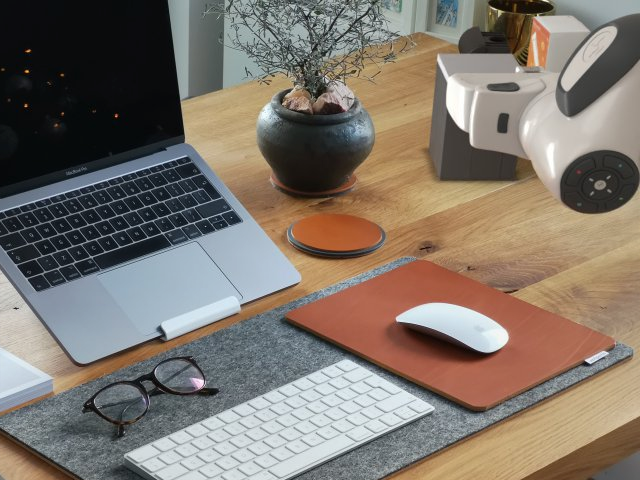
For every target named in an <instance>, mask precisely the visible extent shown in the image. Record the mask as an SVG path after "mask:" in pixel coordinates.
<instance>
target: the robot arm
mask: <svg viewBox="0 0 640 480" xmlns="http://www.w3.org/2000/svg"><path fill="white" fill-rule="evenodd" d="M446 106H447V109H448V111H449V113H450V115H451V117H452V118H453V120H454V121H455V123H456V124H457V125H458V126H459V127H460V128H461V129H462V130H464V131H465V132H468V133H469V136H470V144H471V145H472V146H473V147H475V148H478V149H485V150H491V151H498V152H503V153H508V154H512V155H516V156H518V158H521V159H525V160H529V161H530V162H531V165H532V168H533V170H534V172H535V173H536V175H537V177H538V178H539V180H540V182H541V183H542V185H543V186H544V187H545V189H546V190H547V191H548V193H549V194H550V195H551V196H552V197H553V198H554V200H556V201H557V202H558V203H559V204H560V205H562V206H563V207H564V208H566V209H569V210H571V211H573V212H576V213H578V214H583V215H601V214H607V213H611V212H614V211H616V210H618V209H620V208H622V207H623V206H625V205H627V204H628V203H629V202H630V201H631V200H632V199H633V198H634V197H635V195H636V194H637V192H638V190H639V188H640V12H637V13H631V14H626V15H623V16H620V17H617V18H614V19H612V20H610V21H608V22H606V23H604V24H601V25H600V26H597V27H596V28H595V29H593V30H592V31H591V33H590V34H589V35H588V36H587V37H586V38H585V39H584V40H583V41H582V42H581V43H580V45H579V46H578V47H577V48H576V49H575V51H574V52H573V53H572V55H571V56H570V58H569V59H568V61H567V63H566V64H565V66H564V68H563V69H562V71H561V73H553V72H550V71H546V70H545V69H544V68H543V66H530V67H527V66H522V65H520V66H517V67H516V73H456V74H453V75H452V76H450V77H449V79H448V84H447V94H446Z"/></svg>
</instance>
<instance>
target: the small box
mask: <svg viewBox="0 0 640 480" xmlns="http://www.w3.org/2000/svg"><path fill="white" fill-rule="evenodd" d="M530 32H531V33H530V40H529V46H528V53H527V61H526V67H530V66H543V68H544V69H545V70H546V71H550V72H553V73H561V71H562V69H563V68H564V66H565V64H566V63H567V61H568V59H569V58H570V56H571V55H572V53H573V52H574V51H575V49H576V48H577V47H578V46H579V45H580V43H581V42H582V41H583V40H584V39H585V38H586V37H587V36H588V35H589V34H590V33H591V32H592V31H591V30H590V29H589V28H588V27H586V26H585V24H584V23H583V22H581V21H580V20H579V19H577V18H576V17H575V16H574V15H567V14H565V15H540V16H533V17H532V24H531V31H530Z"/></svg>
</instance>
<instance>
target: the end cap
mask: <svg viewBox="0 0 640 480" xmlns="http://www.w3.org/2000/svg"><path fill="white" fill-rule="evenodd" d="M506 38H507V36H506V34H505V32H504V31H481V28H480V26H479V25H478V26H473V27H470V28H467V29H466V30H465V31H464V32H462V34H461V36H460V37H459V39H458V43H457V48H458V52H459V53H458V54H511V46H510V43H509V42H507V41H505V40H506Z"/></svg>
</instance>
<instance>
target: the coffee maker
mask: <svg viewBox="0 0 640 480" xmlns="http://www.w3.org/2000/svg"><path fill="white" fill-rule="evenodd" d="M517 66H521V65H520V64H519V62H518V60H517V59H516V57H515V56H514V54H513V53H510V54H460V53H437V59H436V67H435V68H436V69H435V77H434V91H433V99H432V100H433V101H432V112H431V121H430V134H429V141H428V142H429V143H428V152H429V155H430V158H431V161H432V163H433V166H434V168H435V171H436V174H437V177H438V180H439V181H515V179H516V173H517V167H518V165H517V164H518V159H519V156H516V155H512V154H508V153H503V152H498V151H491V150H485V149H478V148H475V147H473V146H472V145H471V144H470V136H469V133H468V132H465V131H464V130H462V129H461V128H460V127H459V126H458V125H457V124H456V123H455V121H454V120H453V118H452V117H451V115H450V113H449V111H448V109H447V106H446V94H447V84H448V79H449V77H450V76H452V75H453V74H456V73H516V67H517Z"/></svg>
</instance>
